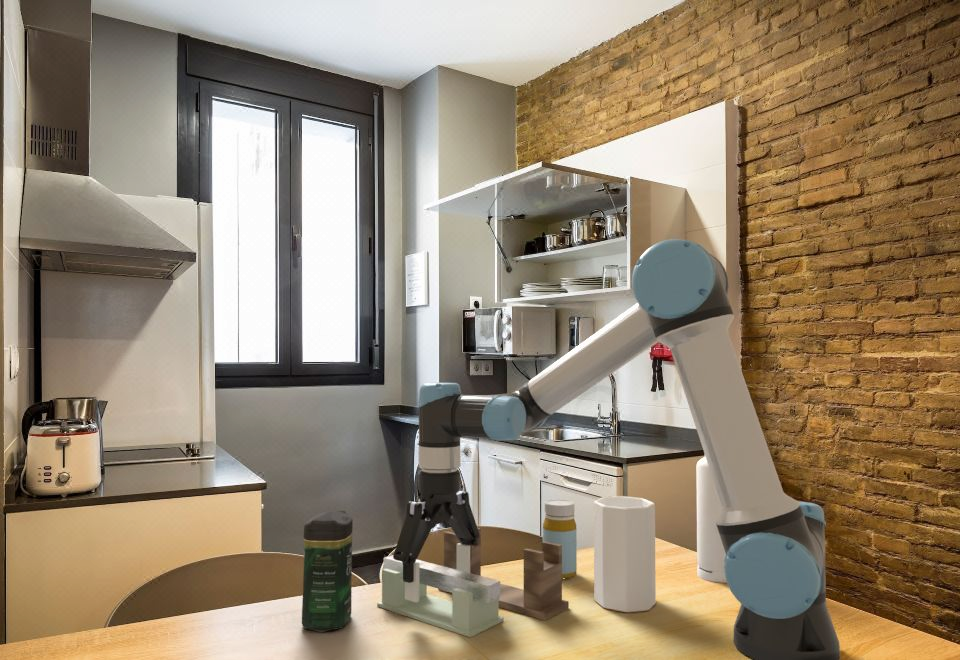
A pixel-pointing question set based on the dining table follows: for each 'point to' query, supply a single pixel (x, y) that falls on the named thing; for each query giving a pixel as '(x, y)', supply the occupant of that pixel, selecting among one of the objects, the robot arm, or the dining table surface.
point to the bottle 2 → (708, 527)
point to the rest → (440, 607)
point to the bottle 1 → (562, 532)
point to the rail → (451, 579)
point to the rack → (539, 578)
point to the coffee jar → (327, 571)
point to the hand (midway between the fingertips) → (438, 590)
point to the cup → (624, 553)
